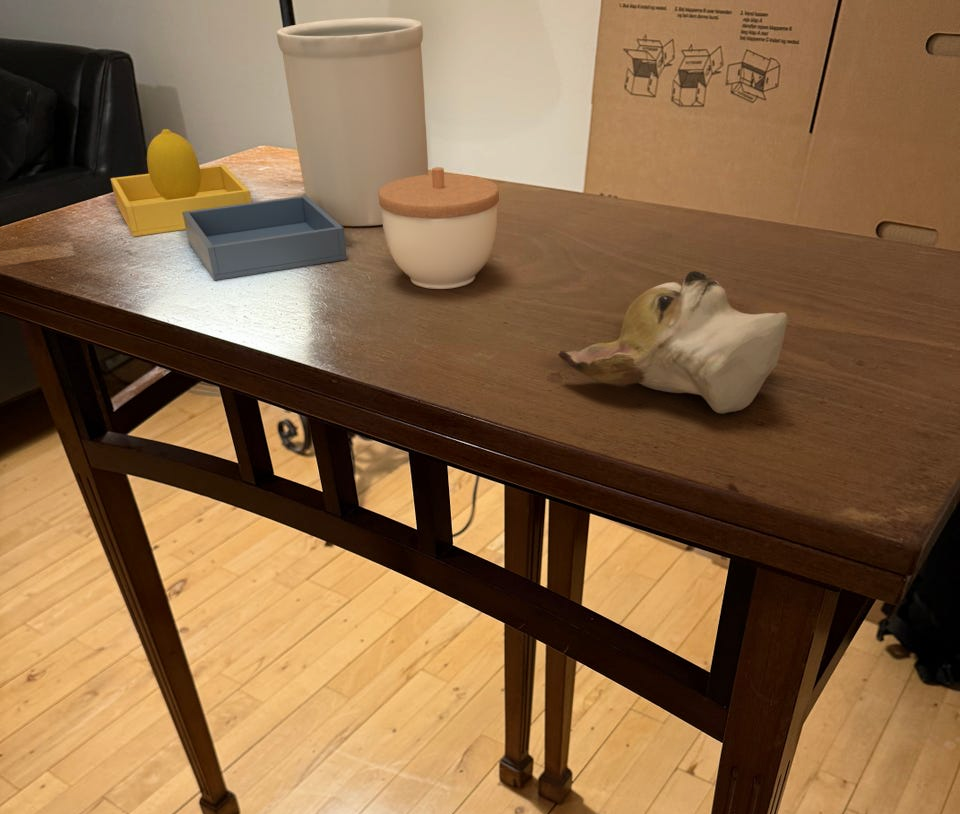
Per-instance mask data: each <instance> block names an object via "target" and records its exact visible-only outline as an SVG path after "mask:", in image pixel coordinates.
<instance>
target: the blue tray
mask: <svg viewBox="0 0 960 814" xmlns="http://www.w3.org/2000/svg"><path fill="white" fill-rule="evenodd" d="M182 213H183V218H184V223H185V227H186V229H185V231H186V236H187V240H188V243H189V245H190V246H191V248H192V249H193V251H194V253H196V255H197V257H198V258H199V260H200V261H201V262H202V264H203V266H204V267H205V268H206V271H208V273H209V274H210V276H211V278H212V279H213V280H214V281H219V280H227V279H232V278H239V277H244V276H245V277H246V276H251V275H258V274H264V273H270V272H276V271H282V270H289V269H295V268H302V267H308V266H314V264H315V265H320V264H326V263H327V264H328V263H333V262H340V261H345V260H348V256H347V248H346V239H345V237H346V236H345V229H344V226H341V225H340V224H339V223H337V222H336V221H335V220H334V219H333V218H332V217H331V216H329V215H328V214H327V213H326V212H325V211H324V210H322V209H321V208H320V207H319V206H318V205H317V204H316V203H314V202H313V201H312V200H311V199H310V198H309V197H308V196H306V194H305V195H298V196H289V197H282V198H275V199H269V200H262V201H261V200H260V201H253V202H252V203H245V204H238V205H230V206H223V207H216V208H208V209H201V210H193V211H186V212H182Z"/></svg>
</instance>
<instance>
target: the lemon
mask: <svg viewBox="0 0 960 814" xmlns="http://www.w3.org/2000/svg"><path fill="white" fill-rule="evenodd" d="M146 161H147V162H146V165H147V171H148V174H149V175H150V179H151V181H152V183H153V185H154V187H155V189H156V190H157V192H158V193H159V194H160V195H161V196H162V197H163V198H164V199H166V200H171V199H179V198H186V197H194V196H196V194H197V193H198V191H199V188H200V184H201V173H200V163H199V160H198V157H197V154H196V153H195V150H194V149H193V146H192V145H191V144H190V142H189V141H188V140H187V139H186V138H184V137H183V136H182V135H179V134H177V133H175V132H172V131H171V129H168V128H164V129H161V132H160V133H159V134H157V135H156V136H155V137H154V138H153V139H152V140H151V141H150V143H149V145H148V148H147V154H146Z"/></svg>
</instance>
